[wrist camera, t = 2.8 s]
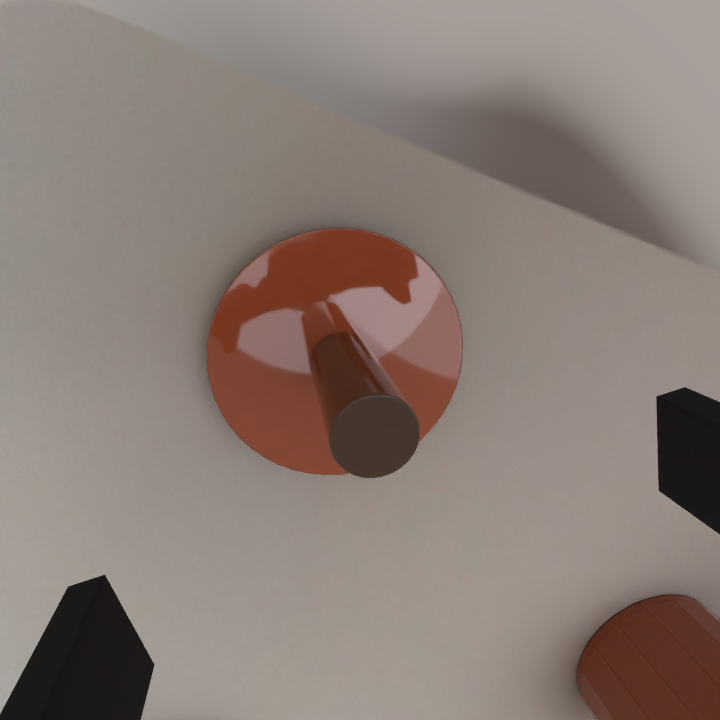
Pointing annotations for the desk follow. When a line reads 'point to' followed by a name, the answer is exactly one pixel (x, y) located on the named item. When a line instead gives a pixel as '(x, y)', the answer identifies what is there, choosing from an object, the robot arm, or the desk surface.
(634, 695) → the jar
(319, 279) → the lid
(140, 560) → the desk surface
